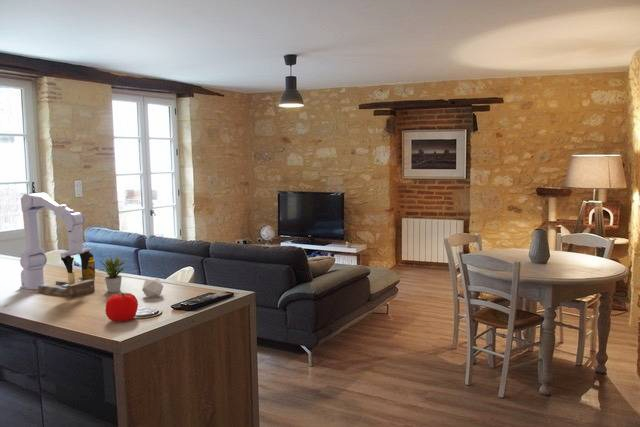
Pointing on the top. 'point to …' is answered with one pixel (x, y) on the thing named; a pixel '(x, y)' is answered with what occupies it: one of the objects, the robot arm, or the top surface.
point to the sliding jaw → (70, 279)
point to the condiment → (88, 270)
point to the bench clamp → (68, 288)
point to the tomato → (121, 307)
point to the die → (152, 288)
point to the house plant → (113, 274)
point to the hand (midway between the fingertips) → (77, 271)
